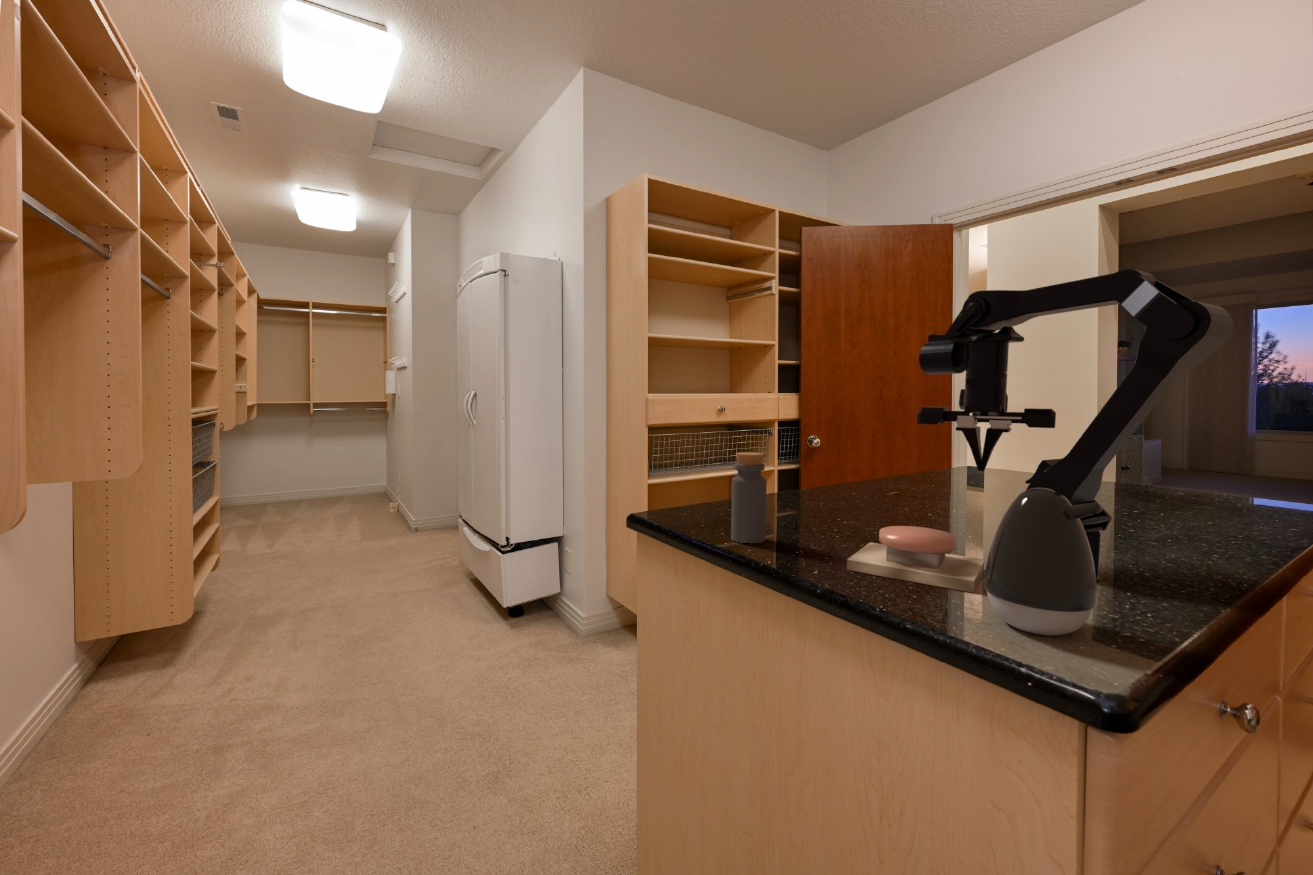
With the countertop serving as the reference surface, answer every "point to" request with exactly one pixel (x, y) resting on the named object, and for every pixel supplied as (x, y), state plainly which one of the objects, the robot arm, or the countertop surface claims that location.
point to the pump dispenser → (1042, 564)
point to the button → (917, 539)
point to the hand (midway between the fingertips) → (981, 470)
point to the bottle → (748, 499)
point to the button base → (918, 566)
